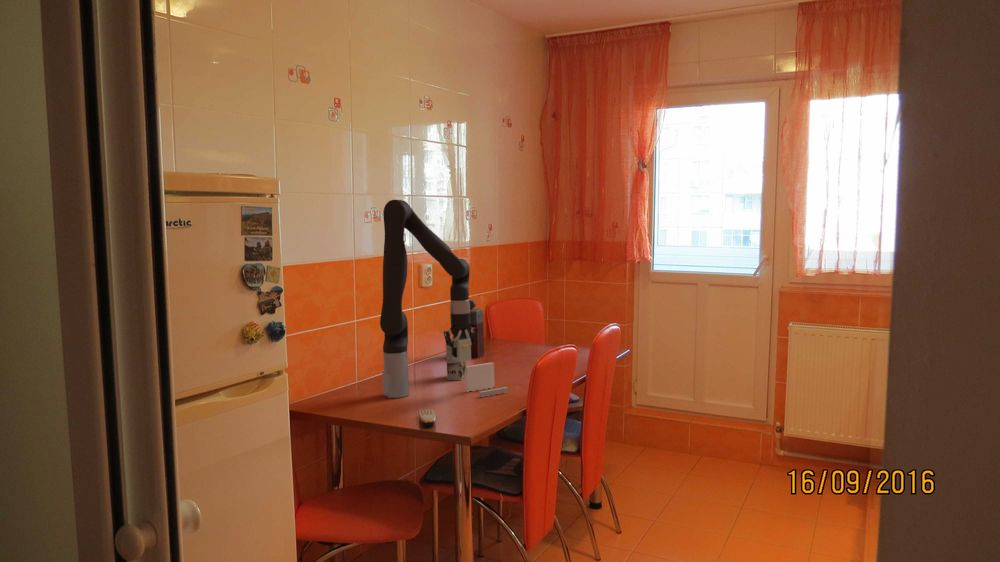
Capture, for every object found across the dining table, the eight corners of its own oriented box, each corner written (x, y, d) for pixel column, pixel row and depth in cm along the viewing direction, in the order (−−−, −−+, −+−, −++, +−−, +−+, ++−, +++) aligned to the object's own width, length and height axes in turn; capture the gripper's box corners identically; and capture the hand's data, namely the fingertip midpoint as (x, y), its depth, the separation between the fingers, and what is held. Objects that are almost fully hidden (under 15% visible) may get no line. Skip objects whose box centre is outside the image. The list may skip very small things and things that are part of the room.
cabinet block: (460, 362, 261) (459, 341, 261) (452, 359, 267) (451, 338, 267) (472, 360, 264) (471, 339, 263) (464, 357, 270) (463, 337, 269)
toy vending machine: (459, 359, 336) (457, 301, 334) (467, 354, 347) (465, 298, 345) (477, 359, 334) (474, 301, 331) (484, 355, 344) (482, 298, 342)
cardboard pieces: (480, 397, 263) (479, 371, 262) (466, 391, 273) (465, 366, 272) (507, 392, 269) (507, 367, 268) (493, 387, 279) (492, 362, 278)
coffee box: (461, 380, 292) (460, 342, 291) (446, 380, 294) (445, 342, 292) (467, 375, 301) (465, 338, 300) (452, 375, 302) (451, 338, 301)
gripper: (447, 314, 258) (449, 360, 259) (481, 311, 265) (483, 355, 266) (438, 312, 264) (440, 356, 266) (472, 309, 271) (473, 352, 273)
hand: (461, 355), depth 266 cm, fingers closed on cabinet block, 5 cm apart
